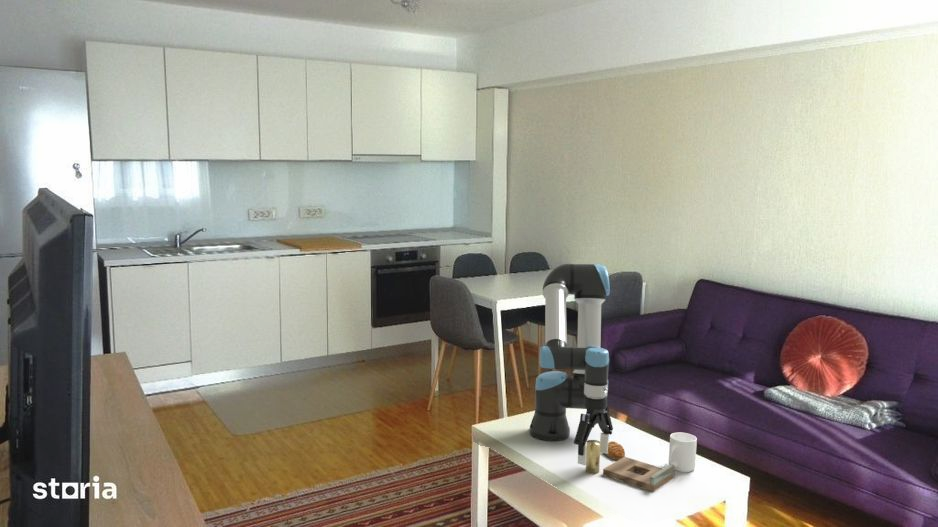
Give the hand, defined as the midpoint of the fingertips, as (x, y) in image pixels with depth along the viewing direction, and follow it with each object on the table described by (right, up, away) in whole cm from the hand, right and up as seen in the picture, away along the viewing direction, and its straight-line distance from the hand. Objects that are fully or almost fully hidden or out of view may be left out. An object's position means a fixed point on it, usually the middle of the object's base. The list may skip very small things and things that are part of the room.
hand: (593, 458), depth 235 cm
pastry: (+10, -3, +15) cm, 19 cm away
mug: (+29, -5, +4) cm, 30 cm away
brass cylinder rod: (0, -5, +1) cm, 5 cm away
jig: (+14, -5, -2) cm, 15 cm away
